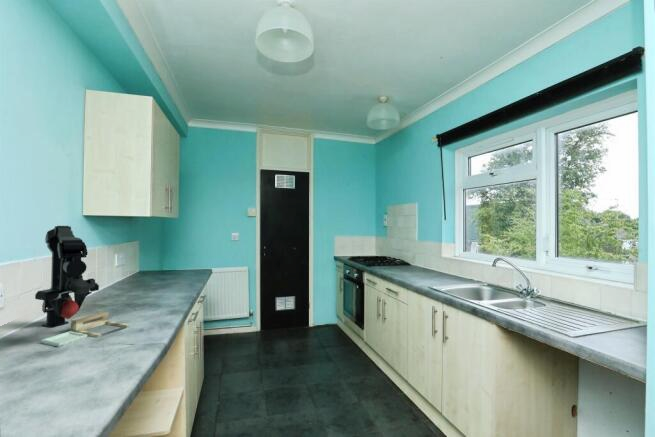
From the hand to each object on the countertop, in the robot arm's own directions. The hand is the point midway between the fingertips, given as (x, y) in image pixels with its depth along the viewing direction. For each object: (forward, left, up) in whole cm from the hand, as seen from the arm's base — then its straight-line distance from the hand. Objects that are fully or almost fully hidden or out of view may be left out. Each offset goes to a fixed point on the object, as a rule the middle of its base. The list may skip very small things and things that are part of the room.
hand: (68, 313), depth 116 cm
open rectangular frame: (0, +12, -10) cm, 16 cm away
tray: (0, -1, -10) cm, 10 cm away
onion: (0, 0, -2) cm, 2 cm away
